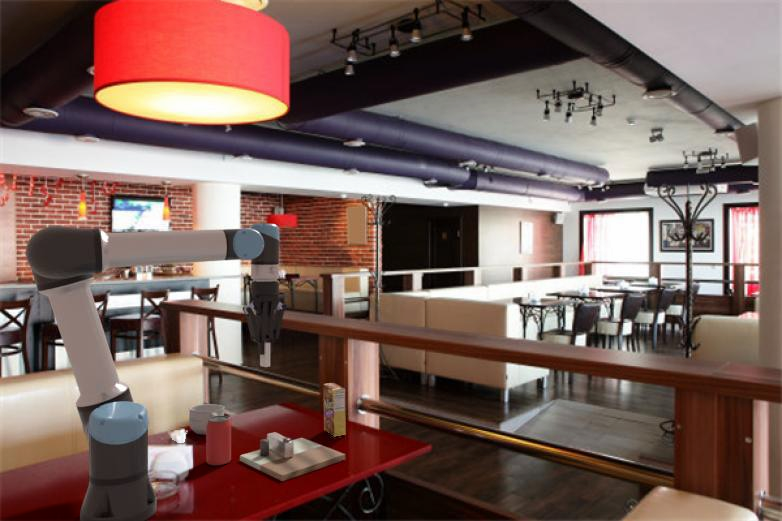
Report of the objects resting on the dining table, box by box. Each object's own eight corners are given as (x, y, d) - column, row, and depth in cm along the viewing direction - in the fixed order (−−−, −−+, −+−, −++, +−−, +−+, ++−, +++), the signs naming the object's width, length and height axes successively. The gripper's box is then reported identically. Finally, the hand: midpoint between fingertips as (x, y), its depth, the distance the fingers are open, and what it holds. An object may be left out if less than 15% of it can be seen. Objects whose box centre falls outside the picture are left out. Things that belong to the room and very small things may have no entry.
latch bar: (293, 456, 155) (293, 439, 155) (285, 458, 153) (285, 441, 153) (275, 446, 163) (275, 429, 163) (267, 448, 161) (267, 431, 161)
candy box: (322, 430, 183) (322, 383, 183) (335, 428, 185) (335, 382, 185) (333, 438, 175) (333, 389, 175) (346, 436, 177) (346, 388, 177)
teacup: (187, 429, 184) (187, 404, 184) (222, 425, 189) (222, 401, 188) (192, 442, 171) (191, 416, 171) (228, 437, 176) (228, 411, 176)
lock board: (282, 481, 142) (282, 459, 142) (240, 460, 156) (240, 440, 156) (345, 459, 157) (345, 439, 157) (301, 442, 171) (301, 424, 171)
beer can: (223, 467, 151) (223, 422, 151) (201, 465, 153) (201, 421, 153) (235, 458, 158) (235, 415, 158) (213, 456, 159) (213, 414, 159)
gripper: (251, 281, 148) (251, 371, 148) (292, 279, 157) (292, 364, 157) (236, 280, 153) (236, 367, 153) (277, 279, 162) (277, 361, 162)
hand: (265, 366), depth 155 cm, fingers closed
